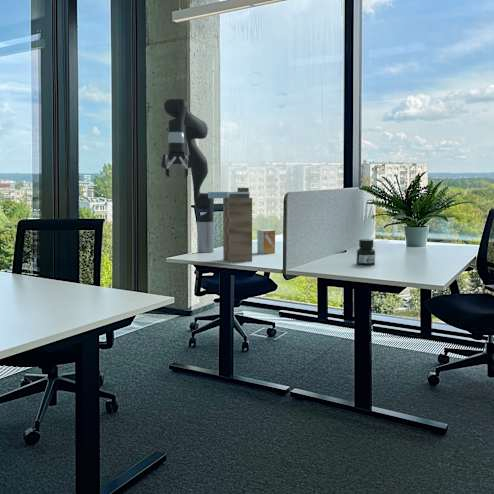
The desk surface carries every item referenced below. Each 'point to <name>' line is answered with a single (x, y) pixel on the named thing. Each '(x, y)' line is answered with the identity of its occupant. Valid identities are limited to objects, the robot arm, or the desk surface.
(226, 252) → the stand
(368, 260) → the ink bottle
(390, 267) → the desk surface
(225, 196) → the pale blue long bar
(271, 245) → the small box
